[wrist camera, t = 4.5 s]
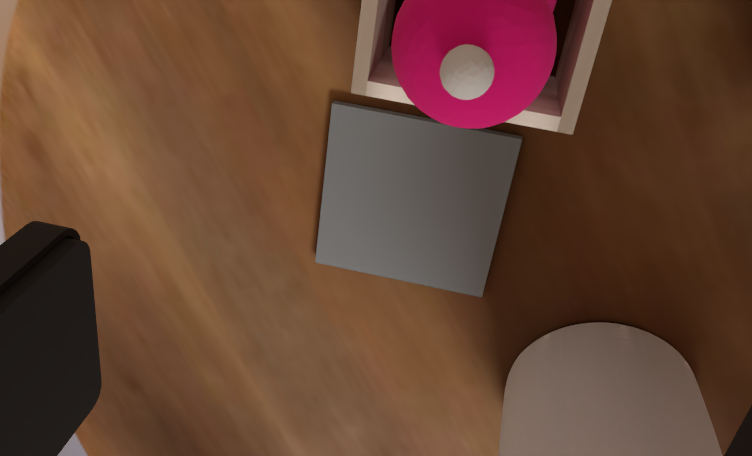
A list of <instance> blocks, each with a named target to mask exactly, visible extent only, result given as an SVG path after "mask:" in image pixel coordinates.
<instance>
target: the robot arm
mask: <svg viewBox="0 0 752 456" xmlns="http://www.w3.org/2000/svg"><path fill="white" fill-rule="evenodd" d="M100 390H101V371H100V359H99V348H98V336H97V325H96V313H95V302H94V290H93V279H92V267H91V256H90V249H89V246H88V244H87V243H86V242H84V241H81V240H80V236H79V234H78V232H77V231H76V230H74V229H72V228H67V227H62V226H58V225H53V224H48V223H44V222H39V221H32V222H30V223H29V224H27V225H25V226H24V227H23V228H22V229H20V230H19V231H18V232H17V233H15V234H14V235H13V236H11V237H10V238H9V239H8V240H6V241H5V242H4V243H3V244H1V245H0V456H57V455H58V454H59V453H60V451H61V450H62V449H63V447H64V446H65V445H66V443H67V442H68V441H69V439H70V438H71V437H72V435H73V434H74V433H75V431H76V430H77V429H78V427H79V426H80V425H81V423H82V422H83V421H84V419H85V418H86V417H87V415H88V414H89V413H90V411H91V410H92V409H93V407H94V405H95V404H96V402H97V399H98V397H99V394H100ZM724 456H752V406H751V408H750V410H749V411H748V413H747V415H746V417H745V419H744V421H743V422H742V424H741V426H740V428H739V430H738V432H737V433H736V435H735V437H734V439H733V441H732V443H731V444H730V446H729V448H728V450H727V452H726V454H725V455H724Z"/></svg>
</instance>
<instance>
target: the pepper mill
mask: <svg viewBox="0 0 752 456" xmlns="http://www.w3.org/2000/svg"><path fill="white" fill-rule="evenodd" d="M556 2H557V0H404V2H403V4H402V6H401V8H400V10H399V12H398V14H397V17H396V20H395V24H394V29H393V34H392V43H391V51H392V61H393V66H394V70H395V73H396V76H397V79H398V81H399V84H400V85H401V87H402V89H403V90H404V92H405V94H406V95H407V97H408V98H409V99H410V101H411V102H412V103H413V104H414V105H415V106H416V107H417V108H418V109H419V110H421V111H422V112H424V113H425V114H426V115H428V116H429V117H431V118H433V119H435V120H436V121H438V122H440V123H442V124H446V125H449V126H453V127H458V128H467V129H479V128H486V127H490V126H494V125H497V124H500V123H503V122H505V121H507V120H509V119H511V118H513V117H514V116H516V115H518V114H520V113H521V112H522V111H523V110H524V109H526V108H527V107H528V106H529V105H530V104H531V103H532V102H533V101H534V100H535V99H536V98H537V96H538V95H539V94H540V92H541V91H542V89H543V87H544V86H545V84H546V82H547V80H548V79H549V76H550V74H551V71H552V68H553V66H554V61H555V56H556V50H557V33H556V27H555V21H554V15H553V11H554V8H555V5H556Z"/></svg>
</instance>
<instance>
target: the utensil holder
mask: <svg viewBox="0 0 752 456" xmlns="http://www.w3.org/2000/svg"><path fill="white" fill-rule="evenodd" d="M499 456H723V455H722V452H721V449H720V446H719V443H718V440H717V437H716V434H715V431H714V428H713V425H712V422H711V420H710V417H709V414H708V411H707V408H706V406H705V403H704V400H703V397H702V394H701V391H700V389H699V386H698V383H697V381H696V379H695V376H694V374H693V372H692V370H691V368H690V366H689V365H688V363H687V362H686V360H685V359H684V358H683V357H682V356H681V354H680V353H679V352H678V351H677V350H676V349H674V348H673V347H672V346H671V345H669V344H668V343H667V342H665V341H664V340H662V339H660V338H659V337H657V336H655V335H653V334H651V333H649V332H646V331H643V330H641V329H638V328H635V327H631V326H626V325H621V324H616V323H606V322H594V323H582V324H576V325H572V326H567V327H564V328H561V329H558V330H555V331H553V332H550V333H548V334H546V335H544V336H542V337H541V338H539V339H537V340H536V341H534V342H533V343H532V344H530V345H529V346H528V347H527V348H526V349H525V350H524V351H523V352H522V353H521V354H520V355H519V356H518V357H517V359H516V360H515V362H514V364H513V366H512V368H511V370H510V372H509V375H508V378H507V382H506V387H505V393H504V402H503V412H502V421H501V431H500V441H499Z"/></svg>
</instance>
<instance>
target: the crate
mask: <svg viewBox="0 0 752 456" xmlns="http://www.w3.org/2000/svg"><path fill="white" fill-rule="evenodd" d="M611 2H612V0H575V4H574V8H573V11H572V15H571V19H570V23H569V26H568V30H567V34H566V38H565V41H564V45H563V49H562V52H561V56H560V60H559V64H558V67H557V71H556V75H555V77H554V76H549V79H548V80H547V82H546V84H545V86H544V87H543V89H542V91H541V92H540V94H539V95H538V96H537V98H536V99H535V100H534V101H533V102H532V103H531V104H530V105H529V106H528V107H527V108H526V109H524V110H523V111H522V112H521V113H520V114H518V115H516V116H514V117H513V118H511V119H509V120H507V121H505V122H507V123H512V124H517V125H523V126H528V127H533V128H539V129H544V130H549V131H554V132H560V133H565V134H570V135H573V132H574V128H575V125H576V122H577V118H578V115H579V111H580V108H581V105H582V101H583V98H584V94H585V91H586V88H587V84H588V81H589V77H590V74H591V70H592V67H593V64H594V60H595V57H596V53H597V50H598V47H599V43H600V40H601V36H602V33H603V30H604V26H605V23H606V19H607V16H608V13H609V9H610V6H611ZM395 3H396V0H362V3H361V11H360V20H359V28H358V37H357V45H356V53H355V62H354V70H353V79H352V87H351V93H353V94H359V95H364V96H369V97H375V98H380V99H385V100H390V101H396V102H401V103H406V104H412V105H414V104H413V103H412V102H411V101H410V99H409V98H408V97H407V95H406V94H405V92H404V90H403V89H402V87H401V85H400V84H399V81H398V79H397V76H396V73H395V70H394V66H393V61H392V51H391V47H389V45H390V38H391V31H392V24H393V17H394V10H395Z"/></svg>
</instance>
